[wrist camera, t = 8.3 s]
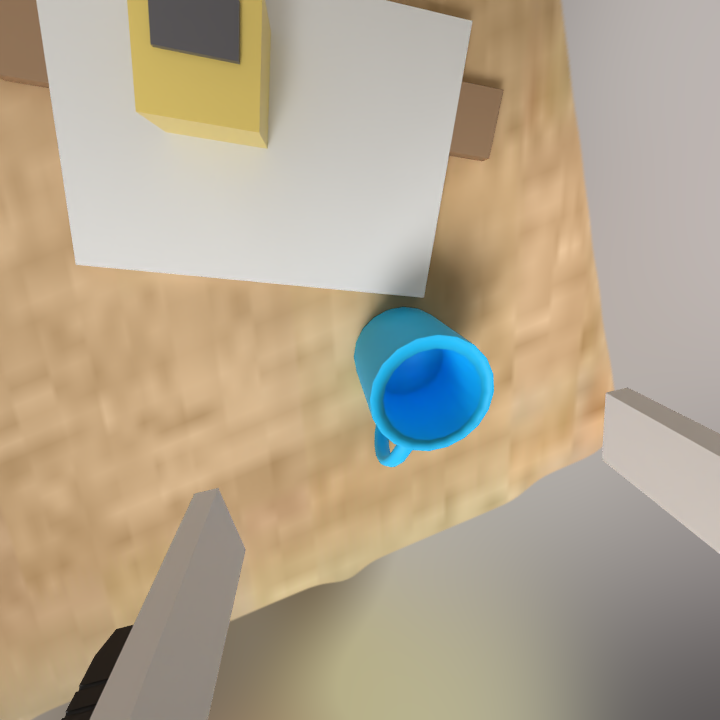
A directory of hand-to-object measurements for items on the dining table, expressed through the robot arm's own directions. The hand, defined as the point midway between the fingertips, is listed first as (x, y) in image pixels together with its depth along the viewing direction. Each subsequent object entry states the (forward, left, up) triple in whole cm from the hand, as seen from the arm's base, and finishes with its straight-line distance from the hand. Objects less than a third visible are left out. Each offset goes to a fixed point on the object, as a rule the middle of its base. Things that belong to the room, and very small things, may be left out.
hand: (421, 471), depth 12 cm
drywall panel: (-7, +12, -18) cm, 23 cm away
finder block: (-10, +15, -17) cm, 24 cm away
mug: (+4, -4, -18) cm, 19 cm away
